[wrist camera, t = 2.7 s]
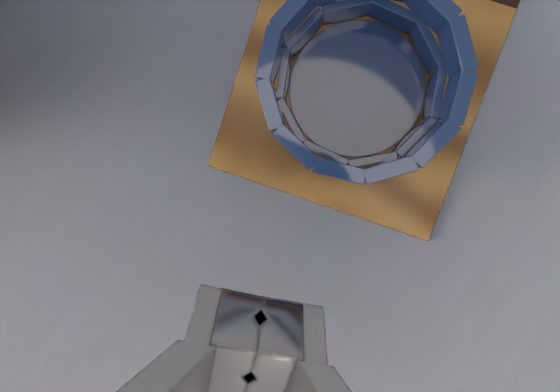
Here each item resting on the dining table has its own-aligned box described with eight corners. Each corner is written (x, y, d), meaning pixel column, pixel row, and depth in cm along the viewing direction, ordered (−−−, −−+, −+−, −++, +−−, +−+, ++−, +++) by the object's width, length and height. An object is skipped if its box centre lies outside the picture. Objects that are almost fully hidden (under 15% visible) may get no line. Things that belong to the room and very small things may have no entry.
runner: (427, 240, 33) (428, 241, 32) (209, 165, 34) (208, 165, 34) (514, 10, 31) (517, 8, 31) (281, -62, 32) (281, -65, 32)
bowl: (233, 95, 33) (214, 80, 27) (354, -39, 31) (363, -86, 25) (356, 213, 33) (365, 225, 27) (484, 85, 31) (523, 67, 25)
